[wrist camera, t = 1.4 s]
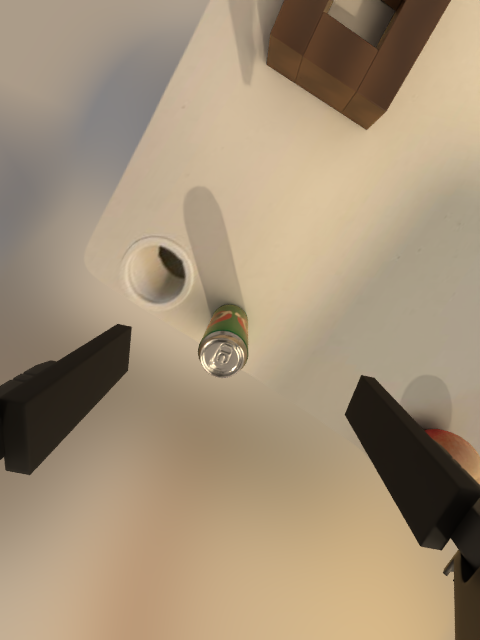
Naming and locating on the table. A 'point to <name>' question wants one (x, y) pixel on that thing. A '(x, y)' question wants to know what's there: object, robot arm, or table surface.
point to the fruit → (458, 450)
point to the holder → (350, 54)
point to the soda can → (225, 342)
